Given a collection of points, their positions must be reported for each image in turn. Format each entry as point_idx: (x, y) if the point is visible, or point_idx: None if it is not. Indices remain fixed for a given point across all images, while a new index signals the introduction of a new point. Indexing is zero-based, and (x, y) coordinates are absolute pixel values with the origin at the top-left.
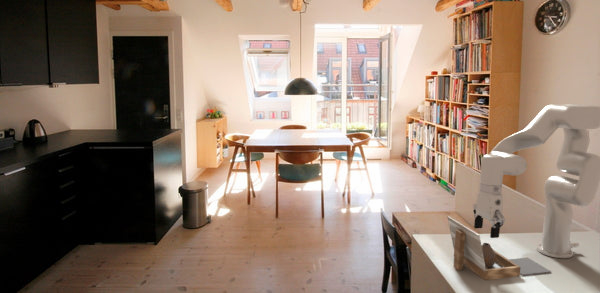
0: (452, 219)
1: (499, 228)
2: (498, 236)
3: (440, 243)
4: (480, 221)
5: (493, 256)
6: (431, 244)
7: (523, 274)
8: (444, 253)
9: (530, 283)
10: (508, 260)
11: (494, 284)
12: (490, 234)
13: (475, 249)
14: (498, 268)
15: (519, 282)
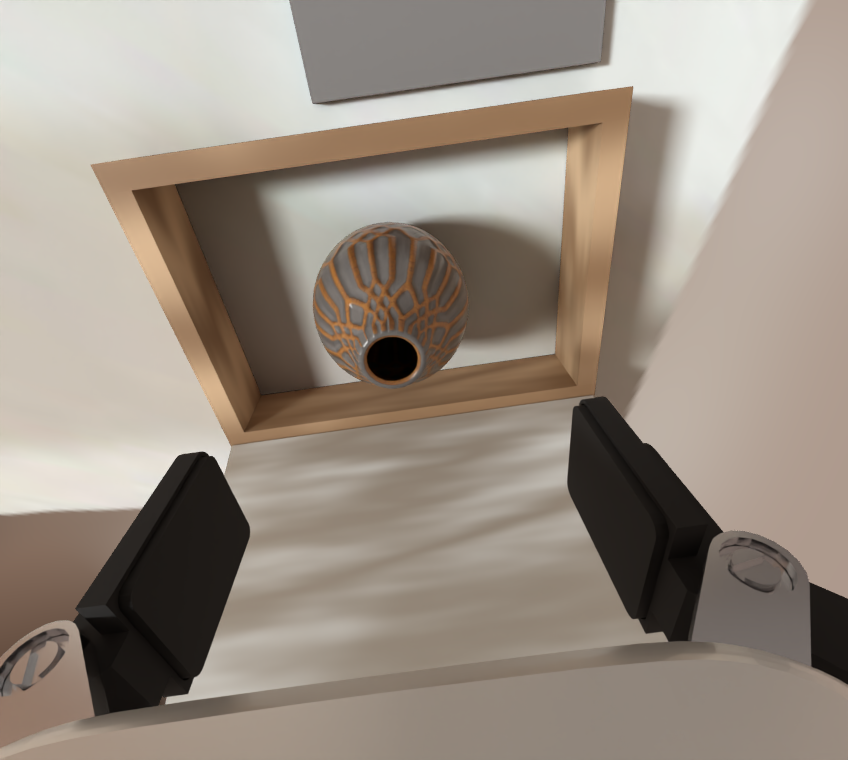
0: None
1: (686, 504)
2: (607, 407)
3: (31, 419)
4: (181, 577)
5: (462, 286)
6: (75, 470)
7: (600, 45)
8: (212, 443)
9: (715, 74)
10: (482, 128)
11: (627, 338)
12: (587, 519)
13: (573, 534)
14: (591, 304)
15: (668, 162)
